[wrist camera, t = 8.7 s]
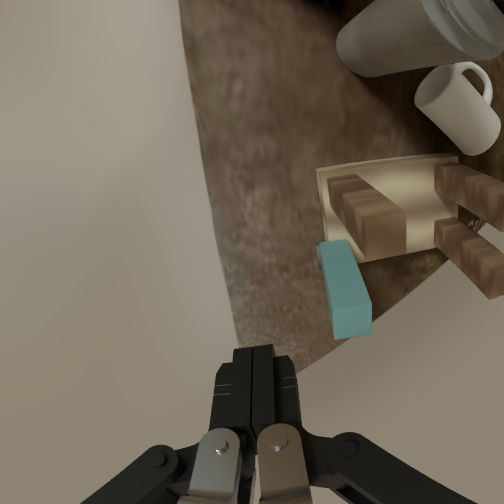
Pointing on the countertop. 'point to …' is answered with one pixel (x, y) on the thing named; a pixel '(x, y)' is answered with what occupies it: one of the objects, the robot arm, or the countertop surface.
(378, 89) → the countertop surface
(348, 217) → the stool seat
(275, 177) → the countertop surface
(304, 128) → the countertop surface
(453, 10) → the thermos bottle
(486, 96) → the mug
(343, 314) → the folding leg
